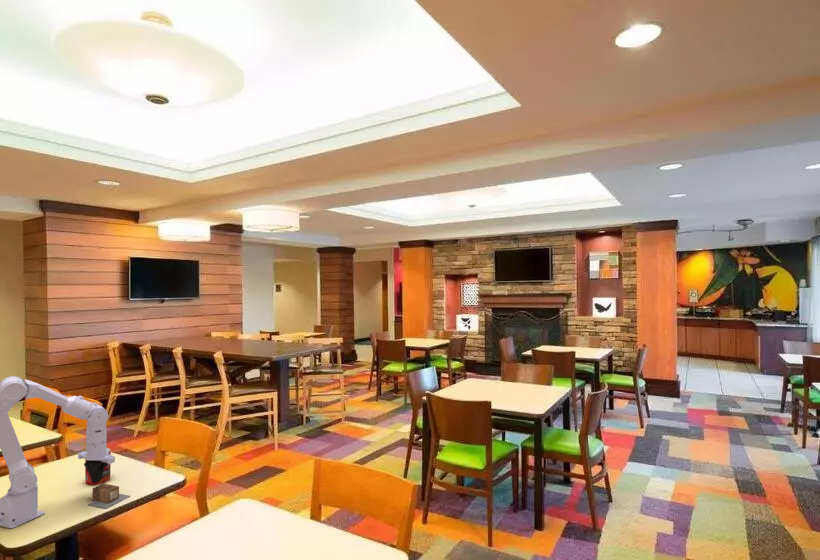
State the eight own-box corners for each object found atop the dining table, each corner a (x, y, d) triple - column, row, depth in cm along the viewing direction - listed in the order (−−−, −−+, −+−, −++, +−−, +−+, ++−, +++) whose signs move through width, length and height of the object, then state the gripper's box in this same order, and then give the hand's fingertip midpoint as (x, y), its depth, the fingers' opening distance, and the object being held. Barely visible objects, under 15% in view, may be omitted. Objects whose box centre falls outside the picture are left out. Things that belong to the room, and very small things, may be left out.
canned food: (101, 485, 167) (101, 455, 167) (79, 485, 167) (79, 455, 167) (115, 476, 174) (115, 447, 174) (94, 476, 174) (94, 447, 174)
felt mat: (105, 509, 150) (105, 508, 150) (87, 505, 152) (87, 504, 152) (130, 496, 158) (130, 495, 158) (112, 493, 161) (112, 492, 161)
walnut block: (92, 500, 155) (108, 503, 153) (92, 488, 155) (108, 491, 153) (103, 494, 159) (119, 498, 157) (103, 483, 159) (119, 486, 157)
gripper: (123, 440, 159) (122, 479, 159) (92, 435, 163) (91, 473, 163) (103, 447, 152) (103, 488, 152) (72, 442, 157) (71, 482, 157)
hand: (96, 481), depth 157 cm, fingers closed
